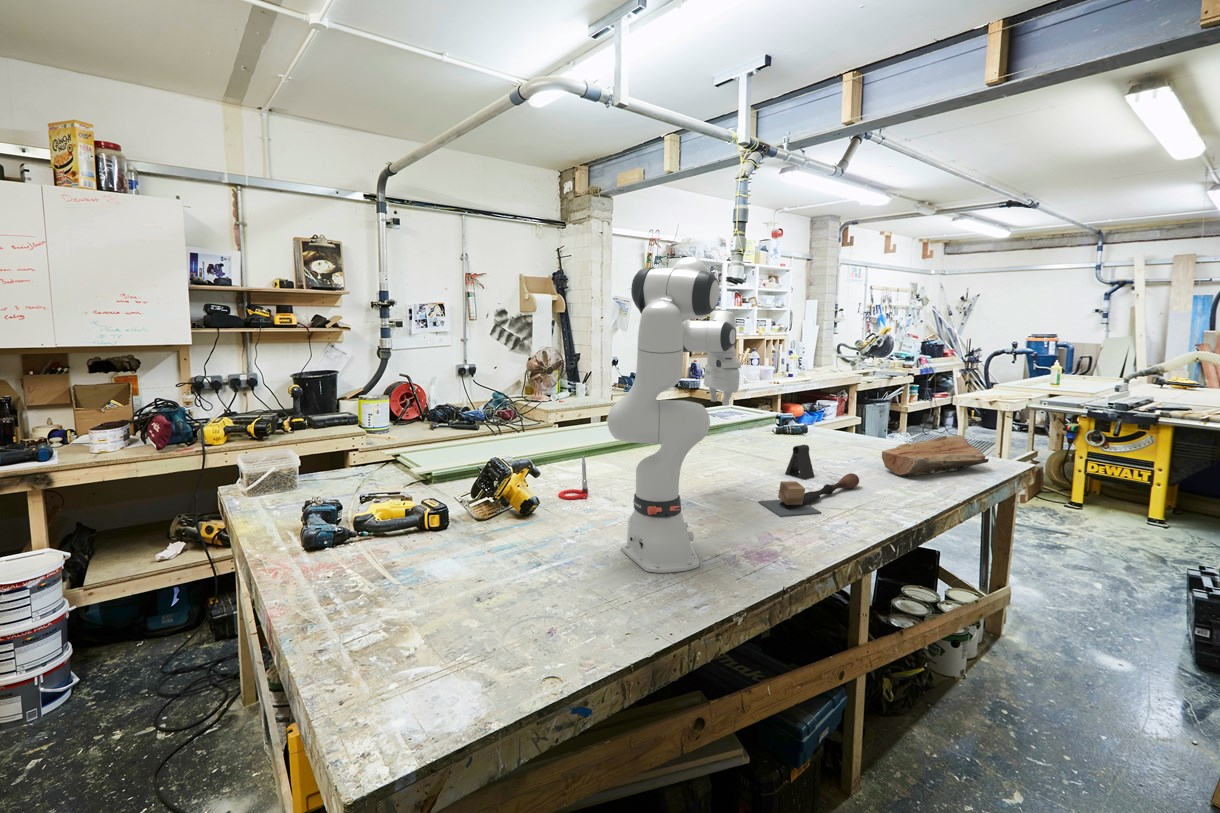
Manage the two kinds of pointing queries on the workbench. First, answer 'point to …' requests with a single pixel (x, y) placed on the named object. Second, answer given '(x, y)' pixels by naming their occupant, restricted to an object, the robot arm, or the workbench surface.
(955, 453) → the log
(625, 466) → the workbench surface
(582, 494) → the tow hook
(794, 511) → the charcoal mat
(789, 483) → the walnut block
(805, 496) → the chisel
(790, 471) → the phone stand
